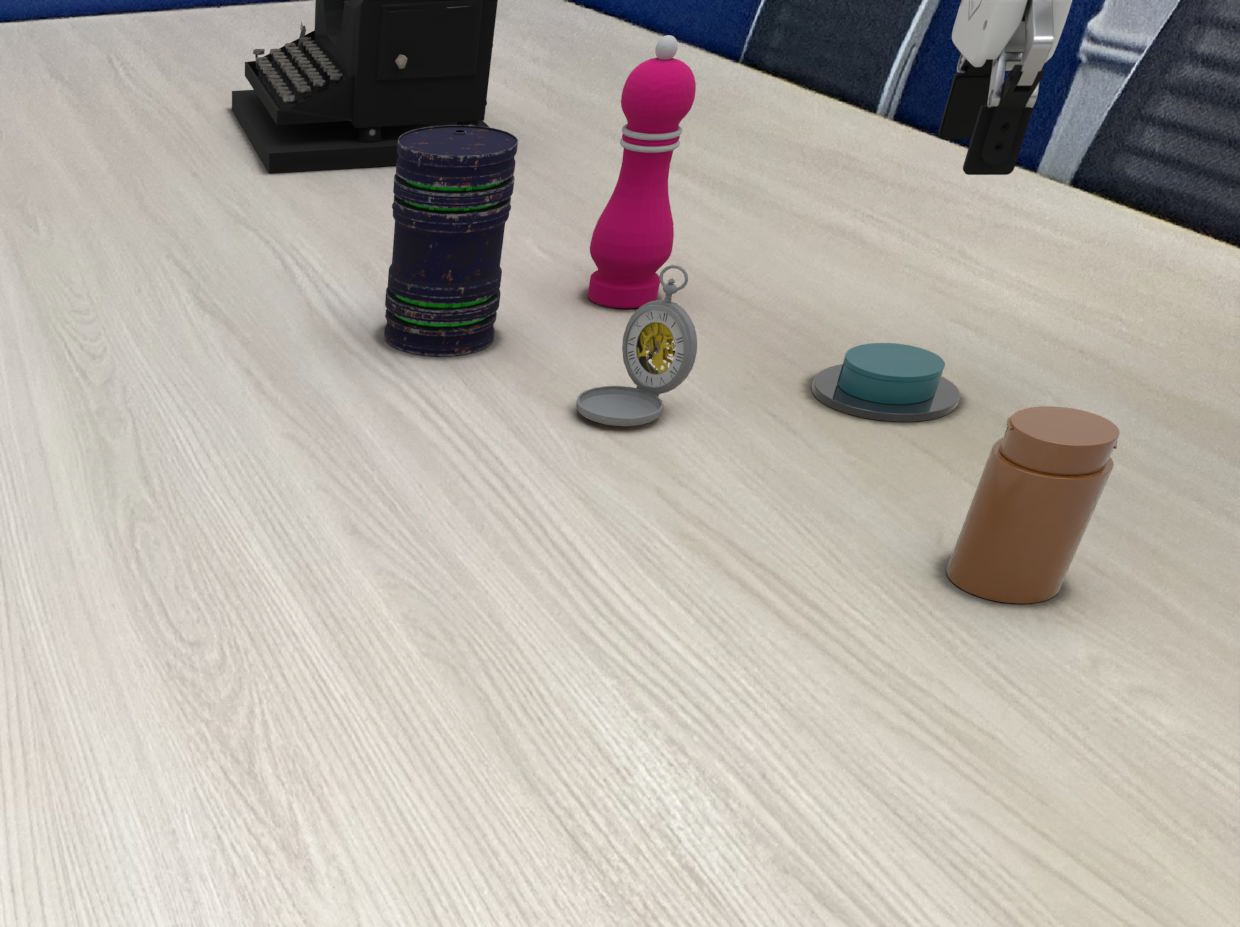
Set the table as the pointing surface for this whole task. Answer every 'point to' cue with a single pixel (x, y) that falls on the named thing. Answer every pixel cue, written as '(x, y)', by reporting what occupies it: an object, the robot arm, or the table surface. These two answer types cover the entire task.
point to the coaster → (842, 401)
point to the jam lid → (890, 373)
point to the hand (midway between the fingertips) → (973, 155)
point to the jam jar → (1033, 504)
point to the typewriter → (367, 81)
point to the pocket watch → (647, 362)
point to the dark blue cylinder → (448, 238)
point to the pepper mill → (642, 183)
